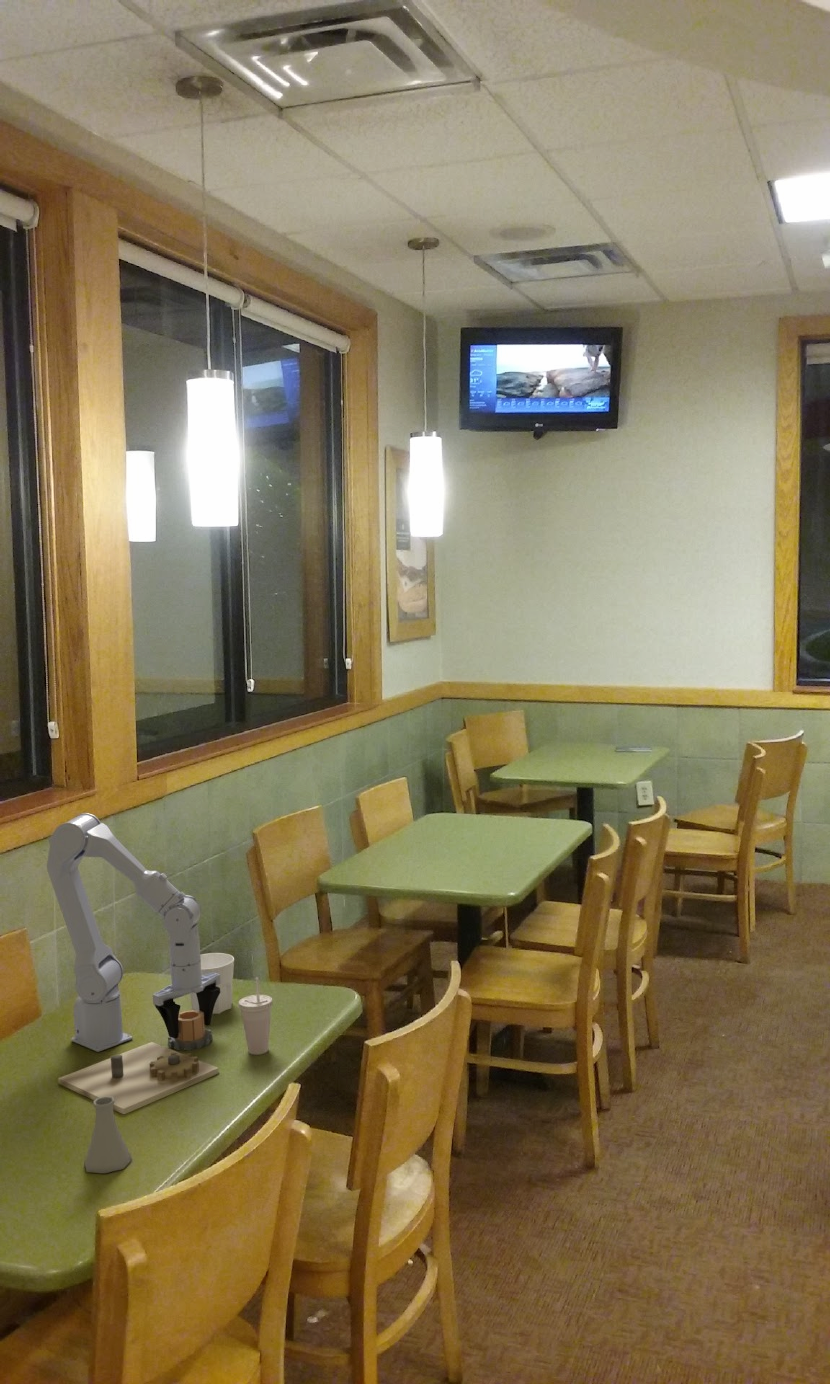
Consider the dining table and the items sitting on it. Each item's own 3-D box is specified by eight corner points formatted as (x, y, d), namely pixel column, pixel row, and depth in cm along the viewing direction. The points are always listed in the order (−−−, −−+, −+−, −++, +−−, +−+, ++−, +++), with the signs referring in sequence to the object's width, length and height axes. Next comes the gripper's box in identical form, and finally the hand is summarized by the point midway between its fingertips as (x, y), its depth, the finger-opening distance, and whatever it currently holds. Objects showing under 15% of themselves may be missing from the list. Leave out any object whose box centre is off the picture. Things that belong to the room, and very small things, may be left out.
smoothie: (269, 1058, 218) (264, 984, 216) (236, 1057, 219) (231, 983, 217) (280, 1044, 224) (275, 972, 222) (247, 1043, 225) (243, 971, 224)
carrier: (58, 1083, 211) (56, 1059, 210) (152, 1047, 225) (150, 1024, 225) (123, 1114, 197) (122, 1088, 197) (218, 1073, 212) (217, 1049, 211)
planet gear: (159, 1043, 227) (158, 1017, 226) (194, 1030, 233) (192, 1004, 232) (186, 1054, 221) (184, 1027, 221) (221, 1039, 227) (219, 1013, 227)
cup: (189, 1001, 249) (186, 955, 248) (237, 997, 250) (235, 951, 249) (186, 1018, 239) (182, 971, 238) (235, 1014, 240) (233, 967, 239)
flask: (88, 1153, 184) (84, 1092, 183) (135, 1150, 185) (131, 1088, 184) (79, 1177, 177) (74, 1113, 176) (128, 1173, 178) (124, 1109, 177)
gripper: (166, 976, 217) (171, 1048, 219) (228, 955, 228) (232, 1023, 229) (144, 969, 222) (148, 1039, 224) (205, 948, 233) (209, 1015, 234)
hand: (189, 1030), depth 227 cm, fingers open, 7 cm apart
